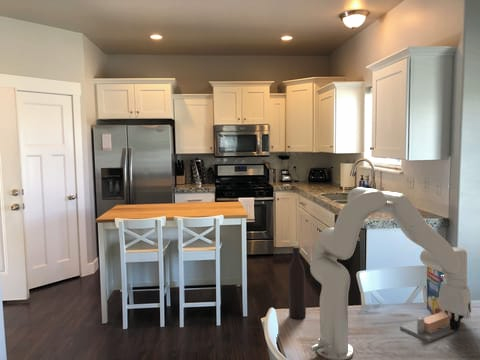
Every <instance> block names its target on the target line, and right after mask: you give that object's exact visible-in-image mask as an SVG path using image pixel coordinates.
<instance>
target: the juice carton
mask: <svg viewBox="0 0 480 360" xmlns="http://www.w3.org/2000/svg"><path fill="white" fill-rule="evenodd" d="M441 275H444V273H442V272H439V271H437V270H434V269H432V268H429V267H427V266H426V309H427V310H429V311H430V312H431V313H432V315H434V314H437V313H440V312H444V311H443V310H441V309H440V307H439V304H438V301H439V291H440V286H441V283H442V282H444V281H443V279H442V278H441ZM445 313H446V312H445Z"/></svg>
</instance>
